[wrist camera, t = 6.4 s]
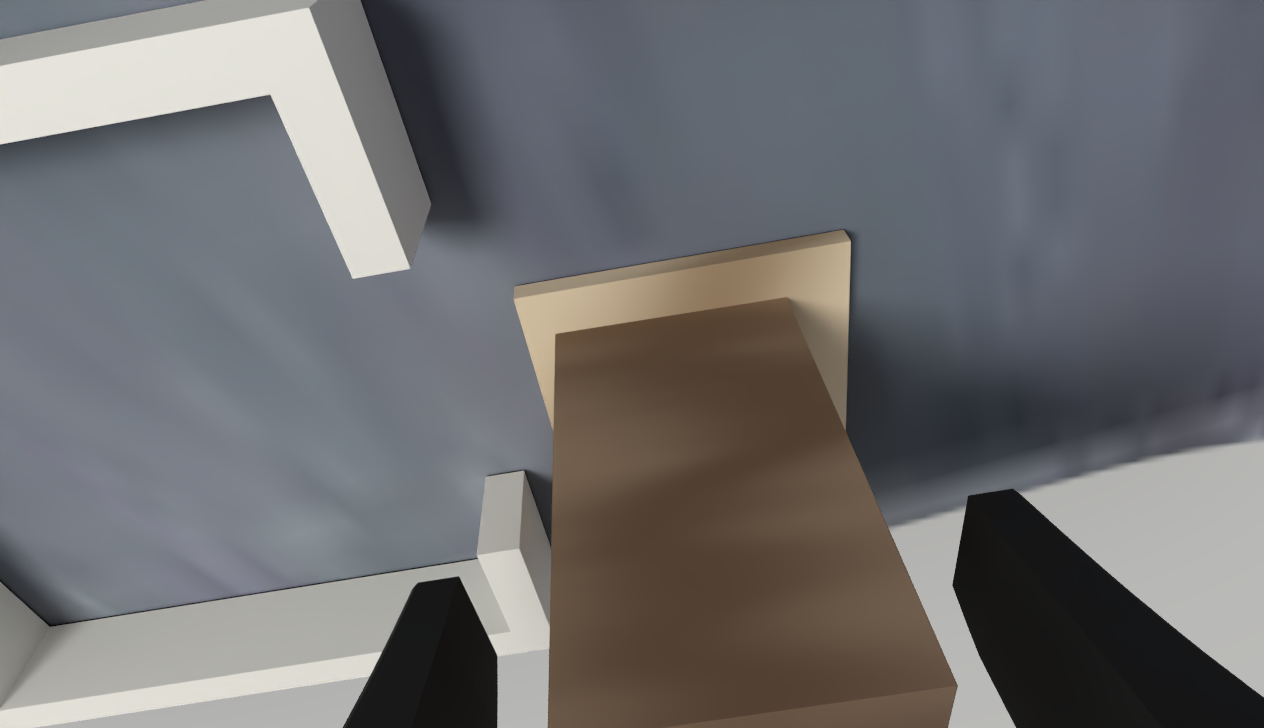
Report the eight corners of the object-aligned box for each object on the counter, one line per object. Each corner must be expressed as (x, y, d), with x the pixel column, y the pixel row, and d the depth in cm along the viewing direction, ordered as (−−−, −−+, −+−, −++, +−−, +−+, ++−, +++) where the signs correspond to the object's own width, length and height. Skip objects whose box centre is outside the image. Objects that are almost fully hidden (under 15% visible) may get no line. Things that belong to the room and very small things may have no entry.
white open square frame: (350, -28, 10) (307, 7, 8) (558, 569, 17) (557, 647, 16) (-550, 144, 10) (-755, 208, 9) (38, 651, 18) (-13, 735, 16)
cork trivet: (843, 229, 12) (850, 241, 12) (838, 464, 16) (844, 477, 16) (514, 286, 13) (513, 299, 12) (579, 505, 16) (579, 520, 16)
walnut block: (786, 297, 13) (958, 686, 7) (789, 462, 15) (919, 848, 10) (555, 333, 13) (547, 744, 7) (595, 491, 15) (612, 890, 10)
